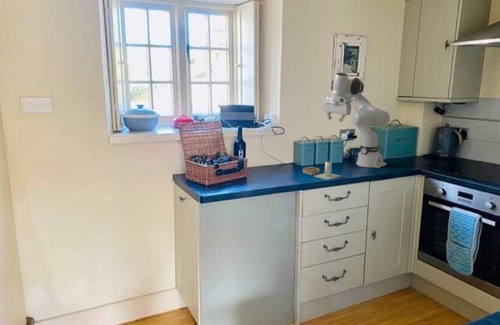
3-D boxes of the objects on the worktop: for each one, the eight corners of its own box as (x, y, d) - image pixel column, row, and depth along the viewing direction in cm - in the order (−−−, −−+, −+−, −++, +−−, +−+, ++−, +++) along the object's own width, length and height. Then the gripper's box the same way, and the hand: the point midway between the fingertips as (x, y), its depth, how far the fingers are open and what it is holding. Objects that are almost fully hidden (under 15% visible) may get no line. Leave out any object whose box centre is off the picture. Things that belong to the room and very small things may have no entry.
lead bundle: (327, 174, 233) (328, 160, 231) (332, 175, 230) (333, 161, 228) (323, 175, 230) (323, 161, 228) (328, 176, 227) (329, 162, 225)
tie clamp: (308, 170, 246) (308, 166, 245) (319, 173, 239) (319, 168, 238) (300, 172, 241) (301, 167, 240) (311, 174, 234) (311, 170, 234)
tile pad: (327, 173, 238) (327, 172, 238) (341, 176, 230) (341, 175, 230) (313, 176, 230) (313, 175, 230) (328, 180, 222) (328, 179, 222)
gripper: (322, 97, 242) (319, 118, 245) (347, 100, 226) (344, 122, 230) (329, 97, 246) (326, 118, 249) (354, 100, 230) (350, 122, 233)
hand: (335, 120), depth 239 cm, fingers open, 8 cm apart
